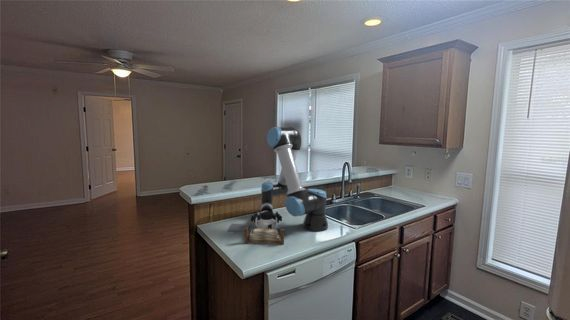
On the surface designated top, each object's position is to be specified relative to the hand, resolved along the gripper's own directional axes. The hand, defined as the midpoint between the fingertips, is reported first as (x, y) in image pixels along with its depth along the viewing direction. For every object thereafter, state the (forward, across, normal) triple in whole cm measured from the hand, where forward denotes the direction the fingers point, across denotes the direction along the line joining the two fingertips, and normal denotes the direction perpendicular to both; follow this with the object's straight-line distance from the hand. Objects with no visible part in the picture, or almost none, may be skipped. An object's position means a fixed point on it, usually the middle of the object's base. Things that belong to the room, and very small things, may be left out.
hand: (266, 223), depth 146 cm
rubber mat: (-13, +16, -8) cm, 22 cm away
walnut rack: (0, 0, -8) cm, 8 cm away
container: (-4, 0, -8) cm, 9 cm away
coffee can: (-49, -38, -8) cm, 63 cm away
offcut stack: (+5, +1, -6) cm, 8 cm away
